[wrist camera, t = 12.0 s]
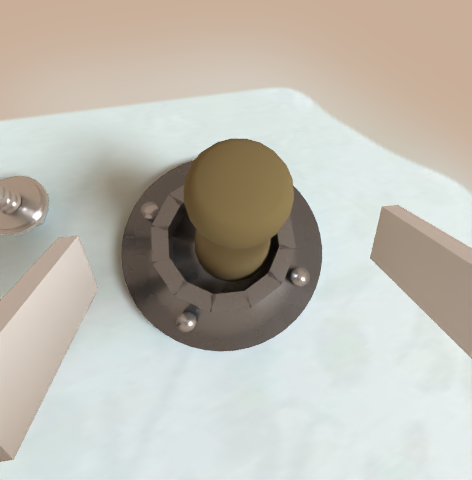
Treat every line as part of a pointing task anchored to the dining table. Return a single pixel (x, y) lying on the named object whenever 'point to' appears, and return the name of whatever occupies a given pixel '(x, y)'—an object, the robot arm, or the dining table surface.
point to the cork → (236, 206)
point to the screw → (21, 205)
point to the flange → (206, 286)
